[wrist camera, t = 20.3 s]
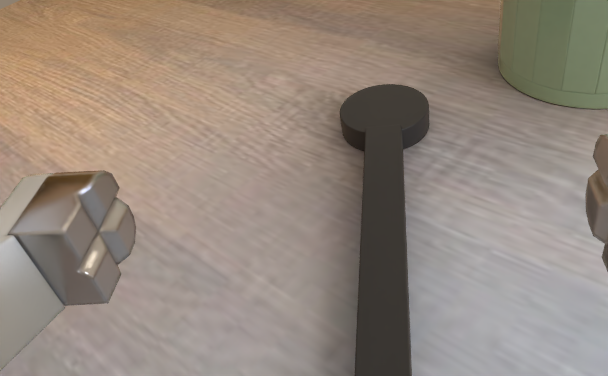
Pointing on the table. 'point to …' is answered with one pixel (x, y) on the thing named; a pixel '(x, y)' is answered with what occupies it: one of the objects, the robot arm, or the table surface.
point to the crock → (556, 50)
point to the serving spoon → (383, 222)
